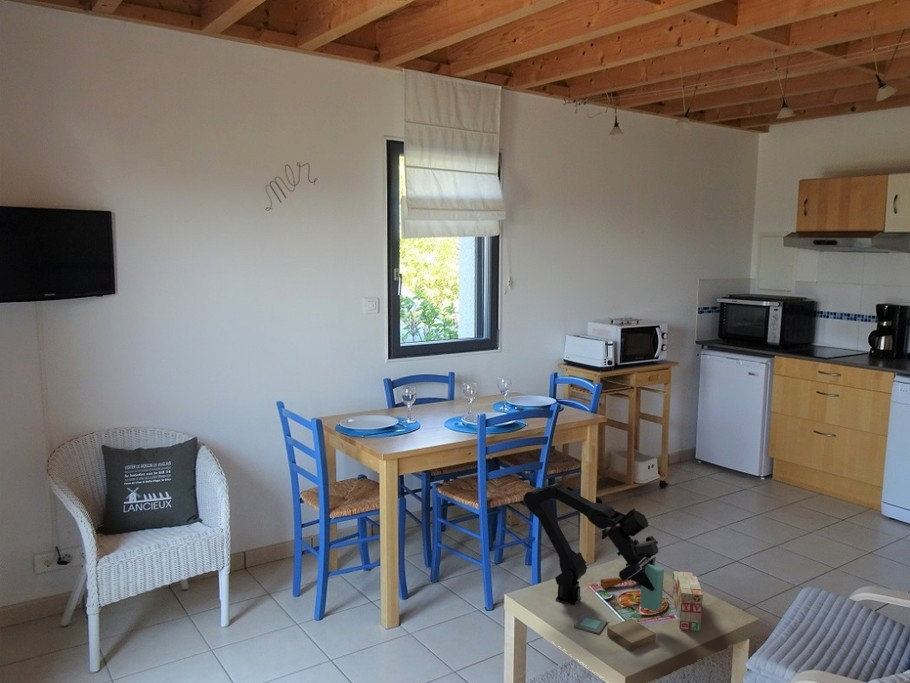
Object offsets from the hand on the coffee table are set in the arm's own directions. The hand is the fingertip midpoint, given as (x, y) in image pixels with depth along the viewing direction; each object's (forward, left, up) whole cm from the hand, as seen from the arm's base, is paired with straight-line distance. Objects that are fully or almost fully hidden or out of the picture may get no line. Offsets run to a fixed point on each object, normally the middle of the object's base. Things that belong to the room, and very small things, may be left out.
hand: (656, 587), depth 221 cm
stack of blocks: (+6, +14, -14) cm, 20 cm away
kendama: (-15, +24, -14) cm, 31 cm away
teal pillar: (-1, 0, -7) cm, 7 cm away
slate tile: (-17, -9, -13) cm, 24 cm away
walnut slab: (-4, -10, -14) cm, 17 cm away
